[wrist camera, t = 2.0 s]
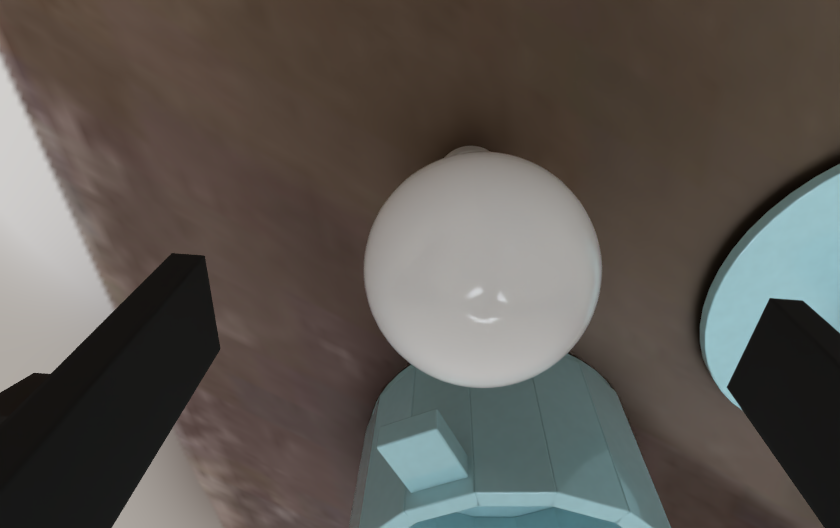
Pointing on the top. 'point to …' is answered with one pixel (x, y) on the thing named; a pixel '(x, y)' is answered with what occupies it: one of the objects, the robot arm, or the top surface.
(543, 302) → the lightbulb
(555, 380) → the pot
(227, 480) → the top surface
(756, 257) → the lid
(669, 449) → the top surface
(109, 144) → the top surface
